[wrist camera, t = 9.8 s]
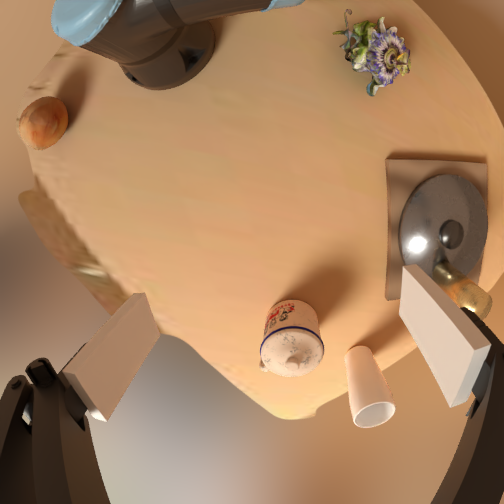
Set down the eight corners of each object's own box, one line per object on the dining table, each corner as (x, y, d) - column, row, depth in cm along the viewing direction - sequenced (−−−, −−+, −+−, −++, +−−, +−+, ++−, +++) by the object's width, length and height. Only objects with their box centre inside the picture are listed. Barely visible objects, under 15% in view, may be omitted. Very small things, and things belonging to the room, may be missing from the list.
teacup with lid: (288, 286, 43) (289, 328, 32) (329, 317, 44) (340, 362, 33) (243, 333, 47) (232, 379, 36) (283, 359, 48) (281, 407, 37)
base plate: (385, 159, 35) (388, 159, 34) (481, 163, 32) (486, 163, 31) (384, 296, 42) (387, 300, 41) (473, 282, 39) (477, 285, 38)
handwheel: (389, 283, 39) (423, 331, 27) (403, 166, 34) (454, 172, 21) (471, 283, 37) (513, 319, 25) (488, 182, 32) (541, 196, 19)
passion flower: (372, 83, 36) (389, 113, 29) (315, 51, 34) (318, 69, 27) (407, 37, 27) (436, 54, 20) (348, -1, 25) (362, 1, 18)
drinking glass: (380, 355, 46) (402, 413, 32) (350, 373, 48) (363, 433, 34) (365, 334, 45) (387, 394, 30) (333, 354, 46) (345, 416, 32)
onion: (47, 154, 40) (10, 159, 31) (45, 109, 37) (9, 107, 28) (79, 140, 39) (40, 141, 30) (77, 91, 36) (40, 84, 26)
